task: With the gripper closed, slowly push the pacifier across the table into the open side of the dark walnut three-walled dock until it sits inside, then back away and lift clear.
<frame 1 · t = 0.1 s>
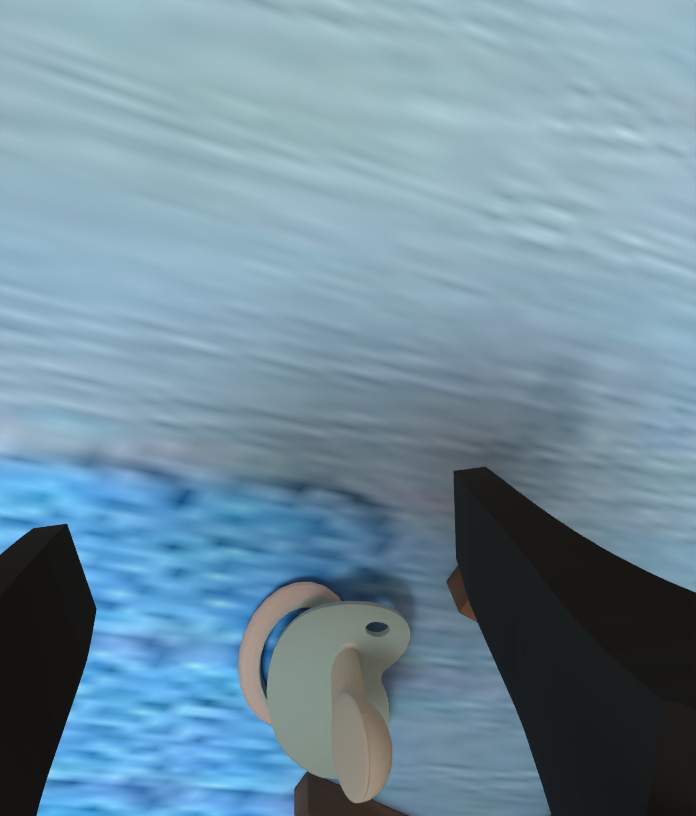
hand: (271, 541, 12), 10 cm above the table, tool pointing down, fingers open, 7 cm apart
pacifier: (317, 647, 26), on the table
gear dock: (486, 735, 27), on the table
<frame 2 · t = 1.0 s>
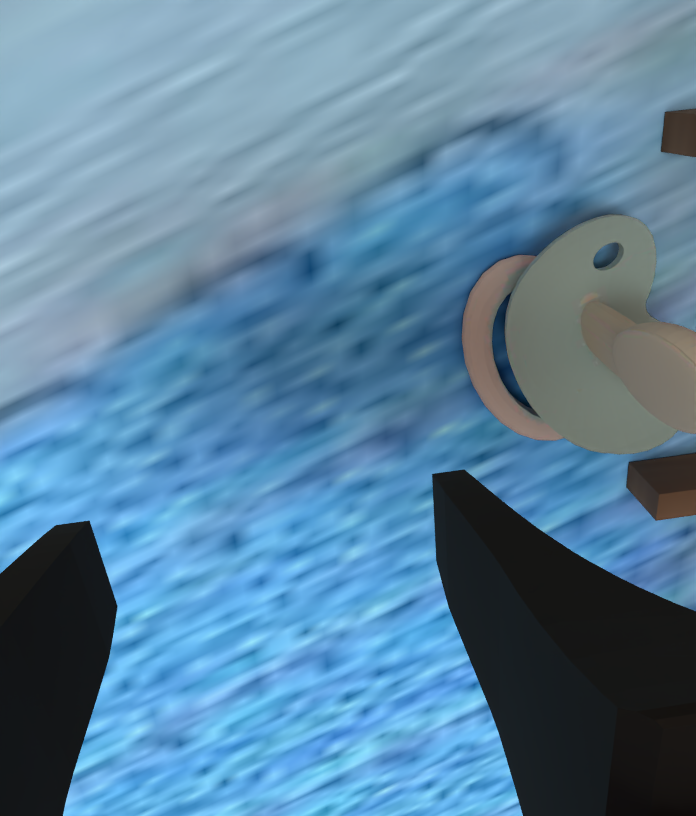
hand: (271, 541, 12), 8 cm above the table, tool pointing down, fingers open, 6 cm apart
pacifier: (553, 332, 21), on the table
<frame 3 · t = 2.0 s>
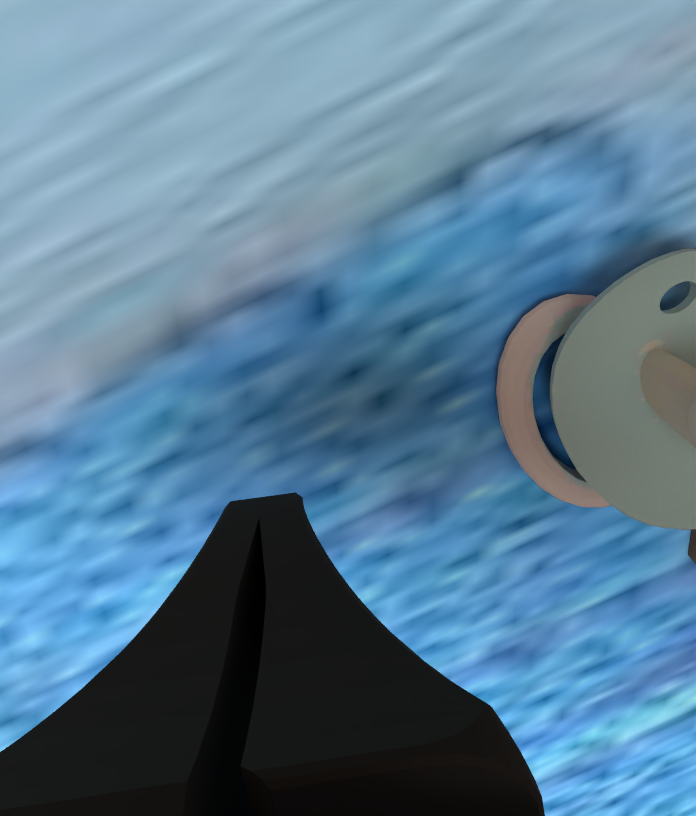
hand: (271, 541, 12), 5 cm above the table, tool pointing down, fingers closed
pacifier: (603, 382, 17), on the table
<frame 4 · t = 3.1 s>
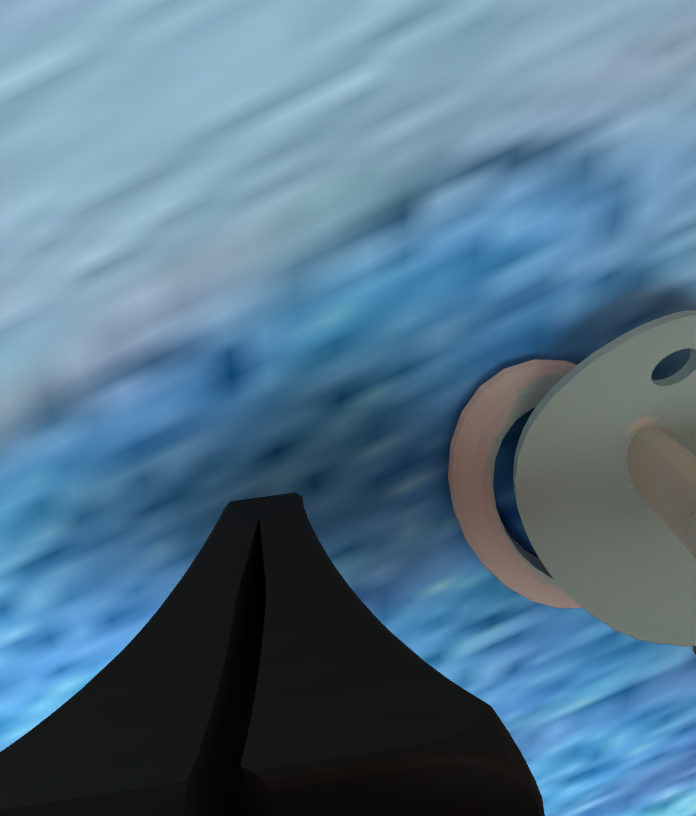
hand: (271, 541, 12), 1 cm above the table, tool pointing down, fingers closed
pacifier: (583, 459, 14), on the table
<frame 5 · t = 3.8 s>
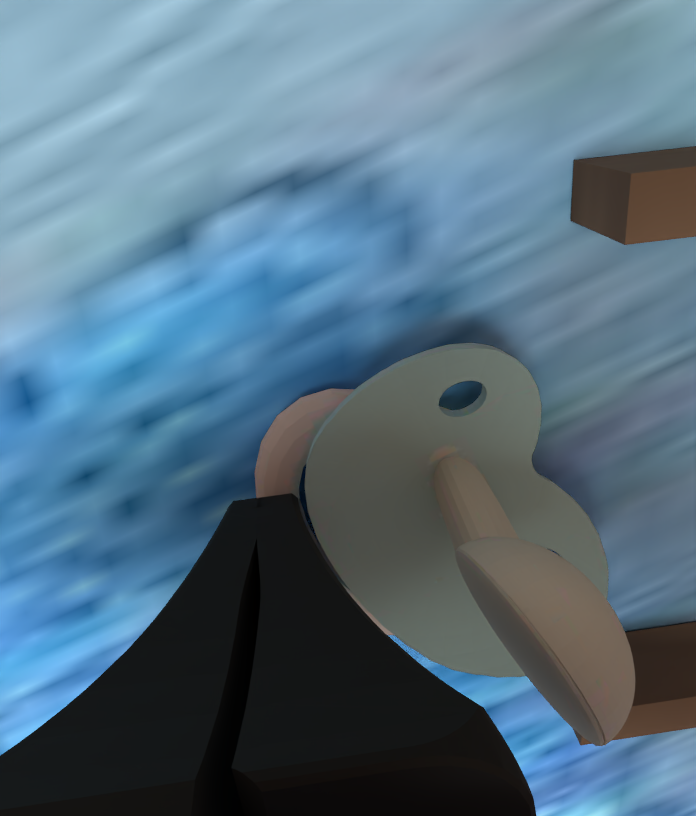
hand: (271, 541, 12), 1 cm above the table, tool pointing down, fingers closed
pacifier: (407, 485, 14), on the table, touching gripper
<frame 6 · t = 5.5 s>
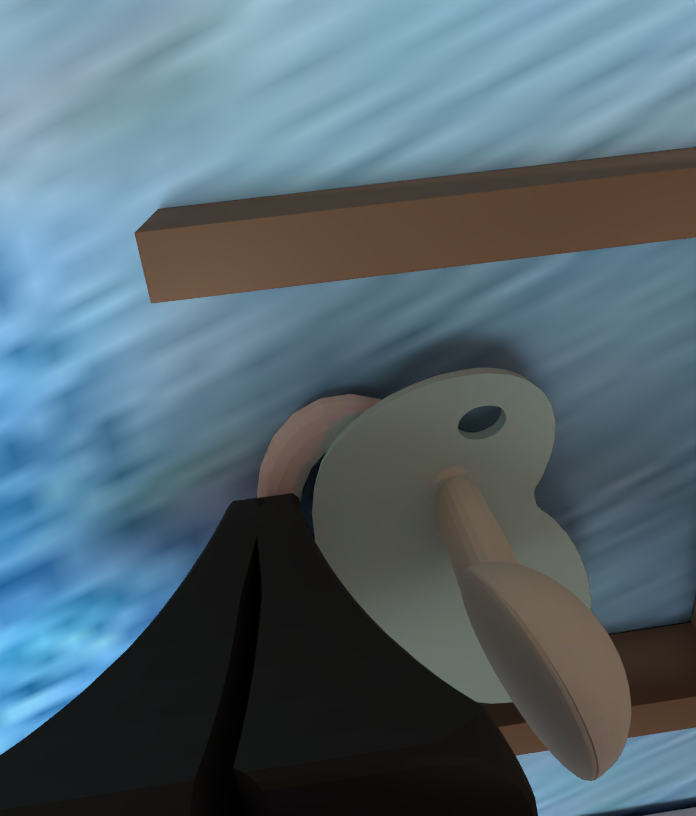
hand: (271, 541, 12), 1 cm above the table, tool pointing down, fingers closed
pacifier: (404, 500, 14), on the table, touching gripper
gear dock: (489, 475, 14), on the table
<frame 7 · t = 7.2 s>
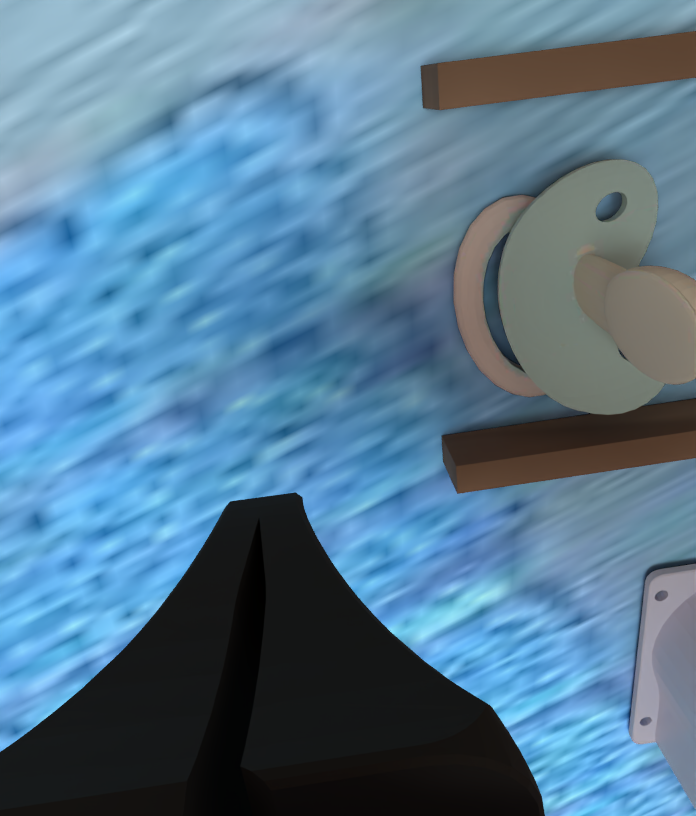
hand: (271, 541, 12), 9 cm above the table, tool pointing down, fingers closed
pacifier: (544, 286, 21), on the table
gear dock: (612, 265, 20), on the table
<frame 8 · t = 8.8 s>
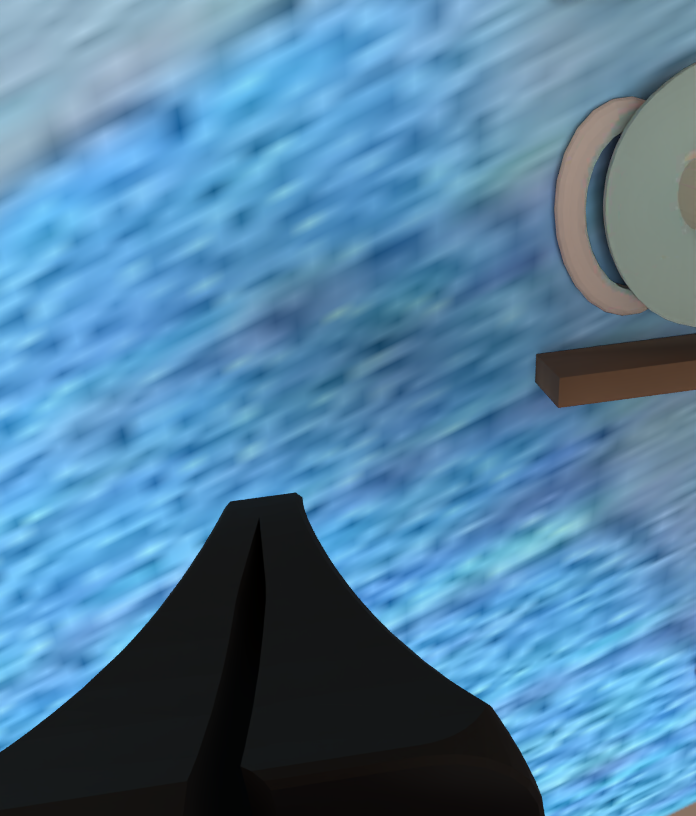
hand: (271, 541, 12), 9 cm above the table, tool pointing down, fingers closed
pacifier: (642, 200, 20), on the table
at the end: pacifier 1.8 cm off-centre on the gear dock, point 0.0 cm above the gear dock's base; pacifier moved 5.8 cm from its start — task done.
